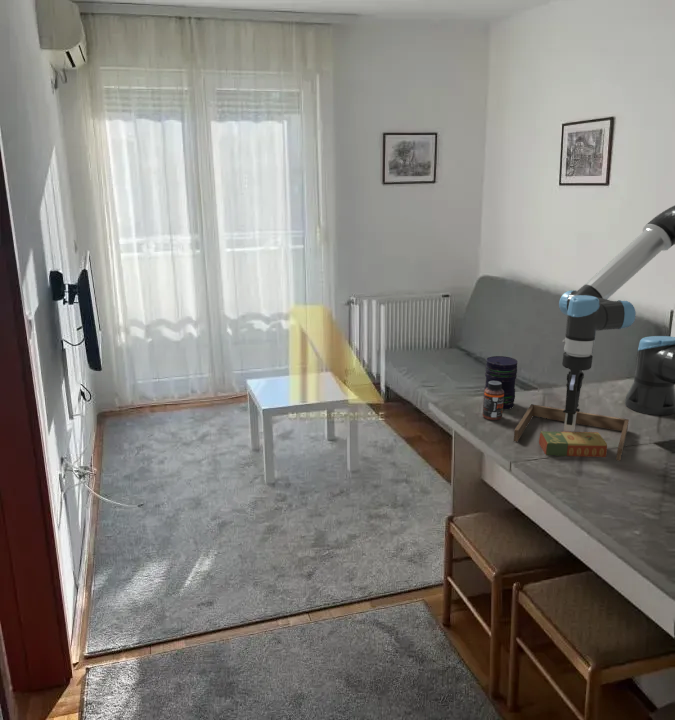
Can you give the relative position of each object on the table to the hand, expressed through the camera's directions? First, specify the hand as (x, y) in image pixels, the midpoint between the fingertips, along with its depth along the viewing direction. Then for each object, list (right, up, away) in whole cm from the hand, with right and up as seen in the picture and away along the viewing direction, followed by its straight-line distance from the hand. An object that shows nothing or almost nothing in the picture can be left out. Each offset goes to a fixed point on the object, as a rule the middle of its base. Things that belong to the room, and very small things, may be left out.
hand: (568, 433), depth 189 cm
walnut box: (+2, -1, +5) cm, 6 cm away
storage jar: (-13, +6, +29) cm, 33 cm away
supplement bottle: (-17, +3, +19) cm, 26 cm away
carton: (-1, -4, -4) cm, 6 cm away
